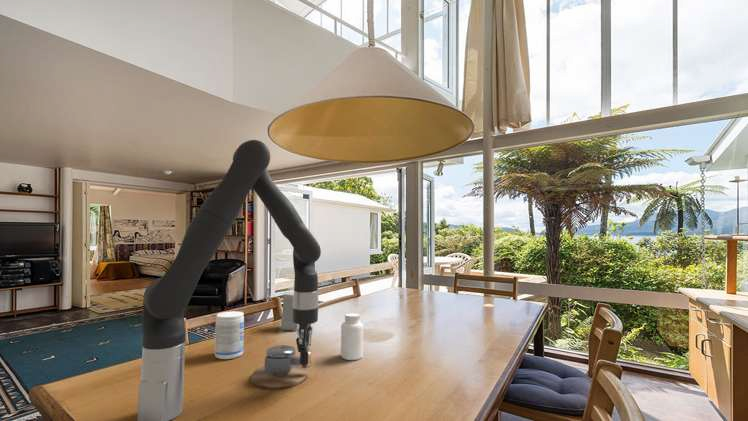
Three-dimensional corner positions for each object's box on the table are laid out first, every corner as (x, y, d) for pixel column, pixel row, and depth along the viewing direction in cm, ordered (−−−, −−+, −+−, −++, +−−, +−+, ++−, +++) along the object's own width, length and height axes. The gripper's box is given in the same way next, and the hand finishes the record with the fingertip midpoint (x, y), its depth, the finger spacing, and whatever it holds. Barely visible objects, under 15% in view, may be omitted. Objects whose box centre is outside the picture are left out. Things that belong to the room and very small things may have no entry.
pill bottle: (351, 351, 136) (351, 311, 137) (367, 356, 131) (368, 314, 132) (335, 357, 130) (336, 314, 131) (352, 362, 125) (353, 318, 126)
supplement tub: (246, 357, 129) (247, 315, 129) (217, 362, 123) (218, 318, 124) (239, 349, 137) (240, 309, 137) (212, 353, 132) (213, 312, 132)
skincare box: (280, 329, 163) (281, 294, 164) (288, 325, 170) (289, 291, 170) (297, 331, 160) (298, 295, 161) (305, 327, 167) (305, 292, 168)
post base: (301, 389, 104) (302, 368, 104) (242, 388, 104) (243, 367, 104) (312, 366, 121) (312, 348, 122) (261, 365, 122) (262, 347, 122)
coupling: (262, 372, 108) (262, 354, 109) (270, 361, 117) (271, 345, 117) (307, 373, 108) (308, 355, 109) (312, 362, 117) (313, 346, 117)
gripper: (314, 311, 103) (312, 373, 102) (321, 301, 116) (320, 356, 115) (287, 310, 103) (286, 372, 102) (297, 300, 116) (296, 356, 115)
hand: (304, 364), depth 109 cm, fingers closed
